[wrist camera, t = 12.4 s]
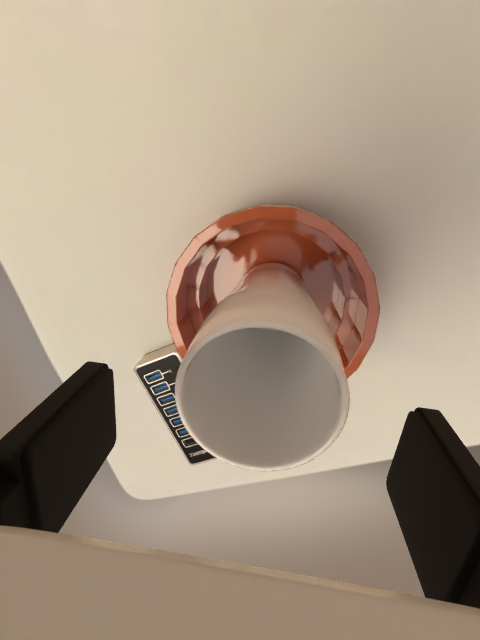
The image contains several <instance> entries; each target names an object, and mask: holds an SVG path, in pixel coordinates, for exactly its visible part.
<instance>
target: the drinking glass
mask: <svg viewBox="0 0 480 640" xmlns="http://www.w3.org/2000/svg"><path fill="white" fill-rule="evenodd" d="M175 401H176V406H177V410H178V413H179V416H180V418H181V421H182V423H183V425H184V426H185V428H186V430H187V431H188V433H189V434H190V435H191V437H192V438H193V439H194V440H195V441H196V442H197V443H198V444H199V445H200V446H201V447H202V448H203V449H204V450H206V451H207V452H208V453H210V454H211V455H213V456H214V457H216V458H218V459H219V460H222V461H224V462H226V463H228V464H231V465H233V466H236V467H240V468H244V469H248V470H255V471H279V470H285V469H290V468H294V467H297V466H300V465H302V464H305V463H307V462H309V461H311V460H313V459H314V458H316V457H318V456H319V455H320V454H322V453H323V452H324V451H325V450H327V449H328V448H329V447H330V446H331V445H332V444H333V443H334V441H335V440H336V439H337V437H338V436H339V434H340V433H341V431H342V429H343V427H344V425H345V422H346V419H347V416H348V412H349V404H350V392H349V386H348V381H347V378H346V374H345V370H344V366H343V362H342V358H341V355H340V352H339V349H338V346H337V343H336V341H335V338H334V336H333V333H332V331H331V329H330V327H329V325H328V323H327V321H326V320H325V318H324V316H323V315H322V313H321V312H320V310H319V308H318V307H317V305H316V304H315V302H314V301H313V299H312V298H311V296H310V295H309V293H308V292H307V290H306V288H305V285H304V282H303V280H302V279H301V277H300V276H299V275H298V274H297V273H296V272H295V271H294V270H293V269H291V268H290V267H288V266H286V265H283V264H280V263H264V264H260V265H258V266H255V267H254V268H252V269H251V270H249V271H248V272H247V273H246V274H245V275H244V276H243V278H242V279H241V281H240V283H239V284H238V285H237V286H236V287H235V288H234V289H233V290H232V291H231V292H230V293H229V294H228V295H227V296H226V297H225V298H224V299H223V300H222V301H221V302H220V303H219V304H218V305H217V306H216V307H215V308H214V309H213V310H212V311H211V313H210V314H209V315H208V317H207V318H206V319H205V321H204V322H203V323H202V325H201V327H200V328H199V330H198V331H197V333H196V335H195V336H194V338H193V340H192V342H191V344H190V346H189V348H188V350H187V352H186V354H185V356H184V358H183V360H182V362H181V364H180V366H179V369H178V372H177V376H176V381H175Z"/></svg>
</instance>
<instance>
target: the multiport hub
mask: <svg viewBox="0 0 480 640" xmlns="http://www.w3.org/2000/svg"><path fill="white" fill-rule="evenodd" d="M182 360H183V359H182V358H181V356H180V355H179V354H178V352H177V349H176V346H175V344H171V345H169V346H166V347H163V348H161V349H158V350H156V351H153V352H151V353H148V354H146V355H145V356H144V357H143V358H142V359H141V360H140V361H139V362H138V364H137V365H136V366H135V367H134V372H135V373H136V375H137V377H138V378H139V380H140V382H141V384H142V385H143V387H144V389H145V390H146V392H147V394H148V395H149V397H150V399H151V400H152V402H153V404H154V406H155V407H156V409H157V411H158V412H159V414H160V416H161V417H162V419H163V421H164V422H165V424H166V426H167V427H168V429H169V431H170V433H171V434H172V436H173V438H174V439H175V441H176V443H177V444H178V446H179V448H180V449H181V451H182V453H183V455H184V456H185V458H186V460H187V461H188V463H189V464H191V465H196V464H200V463H203V462H207V461H210V460H214V459H217V458H216V457H214V456H213V455H211V454H210V453H208V452H207V451H206V450H204V449H203V448H202V447H201V446H200V445H199V444H198V443H197V442H196V441H195V440H194V439H193V438H192V437H191V435H190V434H189V433H188V431H187V430H186V428H185V426H184V425H183V423H182V421H181V418H180V416H179V413H178V410H177V406H176V401H175V381H176V376H177V372H178V369H179V366H180V364H181V362H182Z"/></svg>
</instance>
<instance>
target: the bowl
mask: <svg viewBox="0 0 480 640" xmlns="http://www.w3.org/2000/svg"><path fill="white" fill-rule="evenodd" d="M264 263H280V264H283V265H286V266H288V267H290V268H291V269H293V270H294V271H295V272H296V273H297V274H298V275H299V276H300V277H301V279H302V280H303V282H304V285H305V288H306V290H307V292H308V293H309V295H310V296H311V298H312V299H313V301H314V302H315V304H316V305H317V307H318V308H319V310H320V312H321V313H322V315H323V316H324V318H325V320H326V321H327V323H328V325H329V327H330V329H331V331H332V333H333V336H334V338H335V341H336V343H337V346H338V349H339V352H340V355H341V358H342V362H343V366H344V370H345V374H346V378H348V377H349V376H351V375H352V374H353V373H354V372H355V371H356V370H357V369H358V368H359V366H360V364H361V362H362V361H363V359H364V357H365V355H366V354H367V352H368V350H369V349H370V347H371V345H372V343H373V341H374V338H375V333H376V328H377V323H378V318H379V312H380V306H379V299H378V293H377V287H376V280H375V277H374V273H373V272H372V270H371V268H370V266H369V264H368V263H367V261H366V259H365V257H364V255H363V254H362V252H361V250H360V248H359V246H357V244H356V243H355V242H354V241H352V240H351V239H350V238H349V237H348V236H347V235H346V234H344V233H343V232H342V231H341V230H340V229H339V228H338V227H336V226H335V225H334V224H333V223H332V222H330V221H329V220H327V219H325V218H323V217H321V216H319V215H316V214H314V213H311V212H309V211H306V210H304V209H301V208H299V207H296V206H293V205H278V204H261V205H258V206H254V207H251V208H247V209H244V210H241V211H237V212H234V213H231V214H228V215H225V216H223V217H221V218H220V219H219V220H217V221H216V222H214V223H213V224H211V225H210V226H209V227H207V228H206V229H204V230H203V231H202V232H200V233H199V234H197V235H196V236H195V237H194V238H193V240H192V241H191V242H190V244H189V245H188V247H187V248H186V249H185V251H184V252H183V253H182V255H181V256H180V258H179V259H178V260H177V262H176V264H175V266H174V270H173V273H172V276H171V280H170V283H169V286H168V290H167V322H168V327H169V330H170V333H171V335H172V338H173V341H174V344H175V346H176V349H177V352H178V354H179V355H180V356H181V358H182V359H183V358H184V356H185V354H186V352H187V350H188V348H189V346H190V344H191V342H192V340H193V338H194V336H195V335H196V333H197V331H198V330H199V328H200V327H201V325H202V323H203V322H204V321H205V319H206V318H207V317H208V315H209V314H210V313H211V311H212V310H213V309H214V308H215V307H216V306H217V305H218V304H219V303H220V302H221V301H222V300H223V299H224V298H225V297H226V296H227V295H228V294H229V293H230V292H231V291H232V290H233V289H234V288H235V287H236V286H237V285H238V284H239V283H240V281H241V279H242V278H243V276H244V275H245V274H246V273H247V272H248V271H249V270H251V269H252V268H254V267H255V266H258V265H260V264H264Z"/></svg>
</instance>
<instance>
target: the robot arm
mask: <svg viewBox="0 0 480 640" xmlns="http://www.w3.org/2000/svg"><path fill="white" fill-rule="evenodd" d="M115 441H116V418H115V399H114V380H113V371H112V369H109V368H108V365H107V364H104V363H97V362H86V363H85V364H84V365H83V366H82V367H81V368H80V369H78V370H77V371H76V372H75V373H74V374H73V375H72V376H71V377H70V378H68V379H67V380H66V381H65V382H64V383H63V384H62V385H61V386H60V387H59V388H57V389H56V390H55V391H54V392H53V393H52V394H51V395H50V396H48V398H46V399H45V400H44V401H43V402H42V403H41V404H40V405H38V406H37V407H36V408H35V409H34V410H33V411H32V412H31V413H30V414H28V415H27V416H26V417H25V418H24V419H23V420H22V421H21V422H19V423H18V424H17V425H16V426H15V427H14V428H13V429H12V430H11V431H10V432H8V433H7V434H6V435H5V436H4V437H3V438H2V439H1V440H0V640H480V466H479V465H478V463H477V462H476V461H475V459H474V458H473V457H472V455H471V454H470V452H469V451H468V450H467V448H466V447H465V445H464V444H463V443H462V441H461V440H460V438H459V437H458V436H457V434H456V433H455V431H454V430H453V429H452V427H451V426H450V425H449V423H448V422H447V420H446V419H445V418H444V416H443V415H442V413H441V412H440V411H438V410H434V409H427V408H419V407H418V408H416V409H415V411H414V412H413V411H411V412H409V414H408V416H407V419H406V422H405V425H404V428H403V431H402V434H401V437H400V440H399V443H398V446H397V449H396V452H395V455H394V458H393V461H392V464H391V467H390V470H389V473H388V476H387V481H386V485H387V490H388V493H389V496H390V499H391V502H392V505H393V507H394V510H395V513H396V516H397V519H398V522H399V524H400V527H401V530H402V533H403V536H404V538H405V541H406V544H407V547H408V550H409V552H410V555H411V558H412V561H413V564H414V566H415V569H416V572H417V575H418V578H419V581H420V583H421V586H422V589H423V592H424V595H425V597H420V596H415V595H410V594H405V593H399V592H394V591H388V590H383V589H377V588H372V587H366V586H361V585H355V584H350V583H344V582H339V581H333V580H328V579H322V578H317V577H311V576H306V575H300V574H295V573H289V572H283V571H278V570H272V569H267V568H261V567H255V566H250V565H244V564H238V563H232V562H227V561H221V560H215V559H210V558H204V557H198V556H192V555H187V554H181V553H175V552H169V551H164V550H158V549H152V548H146V547H140V546H134V545H128V544H122V543H116V542H110V541H104V540H98V539H93V538H87V537H81V536H74V535H67V534H61V533H58V532H59V531H60V529H61V527H62V526H63V525H64V523H65V521H66V520H67V518H68V517H69V515H70V514H71V512H72V510H73V509H74V507H75V506H76V504H77V503H78V501H79V500H80V498H81V497H82V495H83V493H84V492H85V490H86V489H87V487H88V486H89V484H90V483H91V481H92V479H93V478H94V476H95V475H96V473H97V472H98V470H99V469H100V467H101V466H102V464H103V462H104V461H105V459H106V458H107V456H108V455H109V453H110V452H111V450H112V448H113V447H114V444H115Z"/></svg>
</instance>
